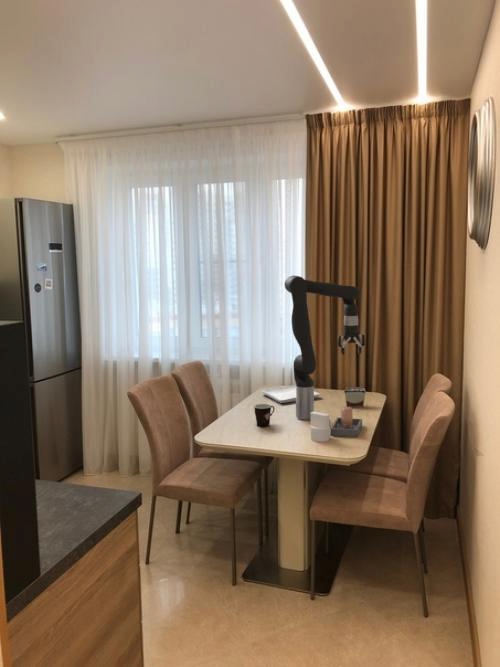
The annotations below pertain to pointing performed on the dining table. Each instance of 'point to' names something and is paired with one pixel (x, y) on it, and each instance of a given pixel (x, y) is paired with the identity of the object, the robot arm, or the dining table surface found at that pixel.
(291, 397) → the closed laptop
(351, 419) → the tan upright block
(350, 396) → the food container
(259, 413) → the coffee mug
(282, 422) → the dining table surface
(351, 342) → the robot arm
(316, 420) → the cylinder with rectangular tab
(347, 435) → the tray
